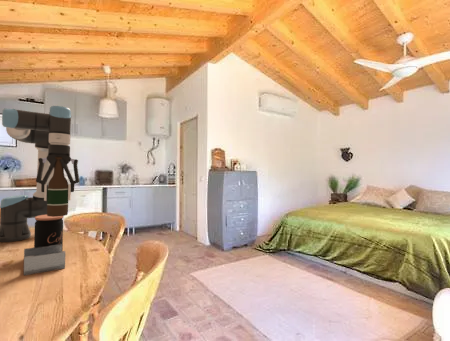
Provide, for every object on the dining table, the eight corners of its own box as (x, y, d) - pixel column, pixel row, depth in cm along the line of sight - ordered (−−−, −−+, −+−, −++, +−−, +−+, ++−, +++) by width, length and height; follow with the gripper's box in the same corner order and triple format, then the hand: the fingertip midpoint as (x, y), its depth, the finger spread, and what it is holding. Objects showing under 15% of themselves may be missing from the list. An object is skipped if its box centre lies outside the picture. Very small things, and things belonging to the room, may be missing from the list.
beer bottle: (63, 216, 104) (65, 156, 104) (42, 216, 103) (44, 155, 103) (71, 213, 112) (73, 157, 112) (51, 213, 111) (53, 156, 110)
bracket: (23, 264, 106) (24, 248, 106) (61, 258, 114) (61, 244, 114) (23, 275, 96) (24, 257, 96) (64, 268, 104) (65, 251, 104)
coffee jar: (48, 261, 111) (49, 219, 111) (27, 258, 113) (28, 217, 113) (68, 253, 121) (69, 214, 121) (48, 251, 123) (49, 213, 123)
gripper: (26, 142, 100) (24, 201, 100) (86, 145, 108) (85, 200, 108) (31, 143, 106) (30, 199, 107) (88, 146, 115) (86, 198, 115)
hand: (57, 200), depth 107 cm, fingers closed on beer bottle, 7 cm apart
